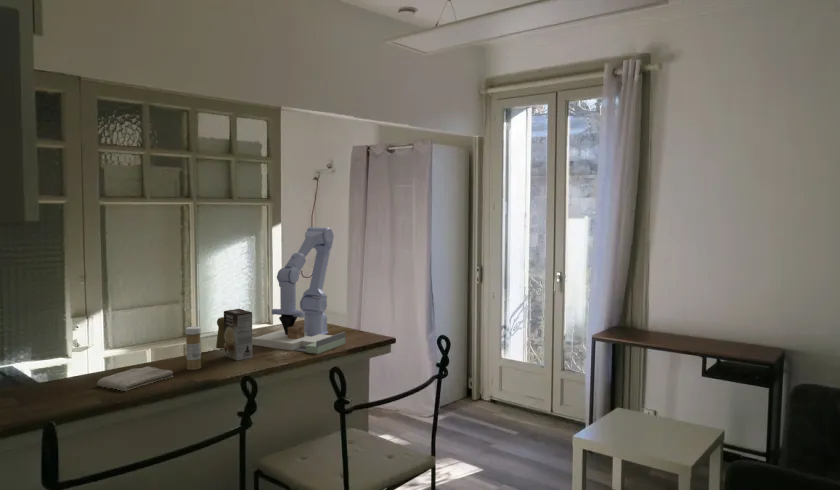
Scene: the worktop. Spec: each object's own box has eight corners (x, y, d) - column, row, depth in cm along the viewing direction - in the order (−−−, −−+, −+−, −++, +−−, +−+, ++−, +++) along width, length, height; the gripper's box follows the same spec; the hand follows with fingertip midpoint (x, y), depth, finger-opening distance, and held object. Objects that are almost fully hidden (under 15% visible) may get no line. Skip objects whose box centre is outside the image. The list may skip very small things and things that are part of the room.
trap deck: (282, 335, 242) (282, 324, 242) (345, 343, 229) (345, 332, 228) (252, 344, 226) (252, 333, 225) (317, 353, 213) (317, 341, 212)
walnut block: (294, 335, 231) (294, 325, 230) (304, 336, 229) (304, 326, 228) (287, 337, 227) (287, 327, 226) (297, 339, 225) (297, 328, 224)
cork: (235, 345, 225) (235, 316, 224) (229, 348, 219) (228, 319, 218) (220, 344, 226) (219, 315, 225) (213, 348, 220) (212, 318, 219)
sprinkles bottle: (200, 366, 196) (199, 325, 195) (202, 369, 192) (201, 328, 191) (185, 367, 194) (184, 326, 193) (186, 371, 190) (186, 329, 189)
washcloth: (176, 378, 184) (175, 368, 184) (125, 394, 168) (124, 383, 167) (148, 373, 189) (148, 363, 189) (96, 388, 173) (96, 378, 172)
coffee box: (223, 356, 209) (222, 310, 208) (239, 352, 213) (239, 308, 212) (236, 360, 202) (236, 314, 201) (253, 357, 207) (253, 311, 206)
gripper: (266, 299, 228) (266, 334, 229) (296, 302, 222) (297, 338, 222) (278, 296, 234) (278, 331, 235) (308, 299, 228) (308, 334, 229)
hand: (288, 334), depth 229 cm, fingers closed
